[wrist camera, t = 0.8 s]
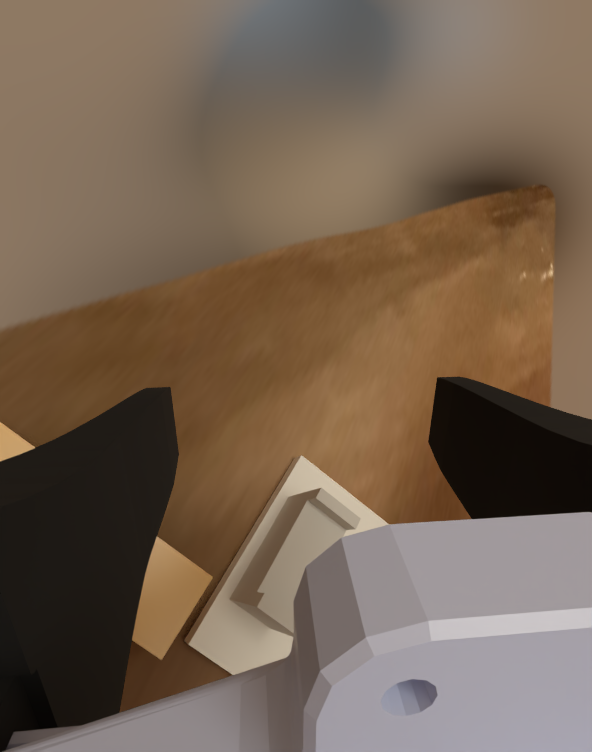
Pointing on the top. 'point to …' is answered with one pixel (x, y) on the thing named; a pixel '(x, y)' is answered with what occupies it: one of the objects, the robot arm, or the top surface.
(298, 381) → the top surface
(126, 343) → the top surface
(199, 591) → the wooden block with panels
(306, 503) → the display stand
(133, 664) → the top surface
